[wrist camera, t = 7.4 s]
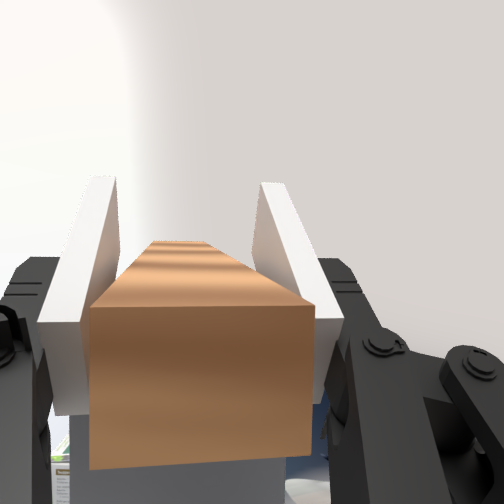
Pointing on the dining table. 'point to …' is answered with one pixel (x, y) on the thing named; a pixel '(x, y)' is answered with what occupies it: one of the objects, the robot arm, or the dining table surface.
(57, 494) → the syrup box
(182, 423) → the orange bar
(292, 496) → the dining table surface
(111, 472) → the gray pedestal stand
